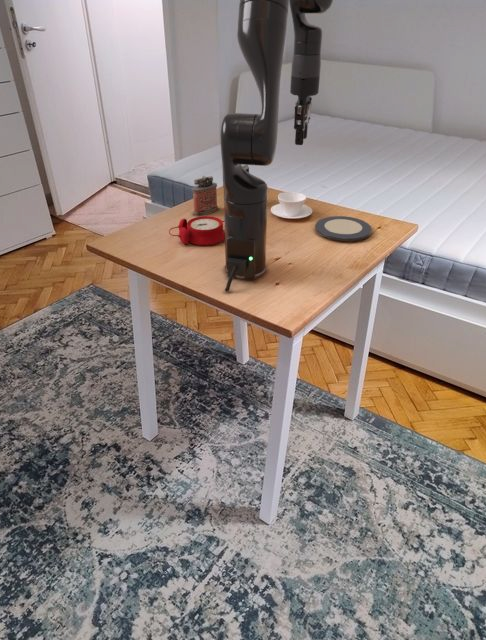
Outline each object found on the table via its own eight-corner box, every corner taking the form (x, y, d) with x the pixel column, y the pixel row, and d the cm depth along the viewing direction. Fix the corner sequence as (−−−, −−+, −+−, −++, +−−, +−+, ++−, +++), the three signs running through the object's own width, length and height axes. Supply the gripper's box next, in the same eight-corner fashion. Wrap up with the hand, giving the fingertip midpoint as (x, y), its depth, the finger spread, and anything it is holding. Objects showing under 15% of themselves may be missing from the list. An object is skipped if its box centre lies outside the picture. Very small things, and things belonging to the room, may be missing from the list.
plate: (369, 246, 123) (370, 241, 122) (311, 239, 126) (311, 234, 125) (372, 223, 134) (373, 218, 134) (318, 218, 137) (319, 213, 136)
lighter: (212, 206, 144) (211, 172, 138) (220, 209, 142) (219, 175, 136) (191, 213, 139) (188, 178, 133) (198, 216, 137) (196, 181, 131)
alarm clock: (231, 231, 121) (171, 221, 117) (226, 254, 124) (168, 245, 120) (227, 215, 129) (171, 205, 125) (222, 237, 132) (168, 228, 129)
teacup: (289, 204, 146) (290, 186, 143) (320, 214, 139) (322, 196, 136) (261, 214, 139) (262, 196, 136) (293, 226, 132) (294, 207, 129)
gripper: (295, 69, 132) (292, 134, 142) (286, 77, 121) (283, 147, 131) (323, 70, 131) (317, 136, 141) (316, 78, 120) (310, 149, 130)
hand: (300, 141), depth 136 cm, fingers open, 6 cm apart
